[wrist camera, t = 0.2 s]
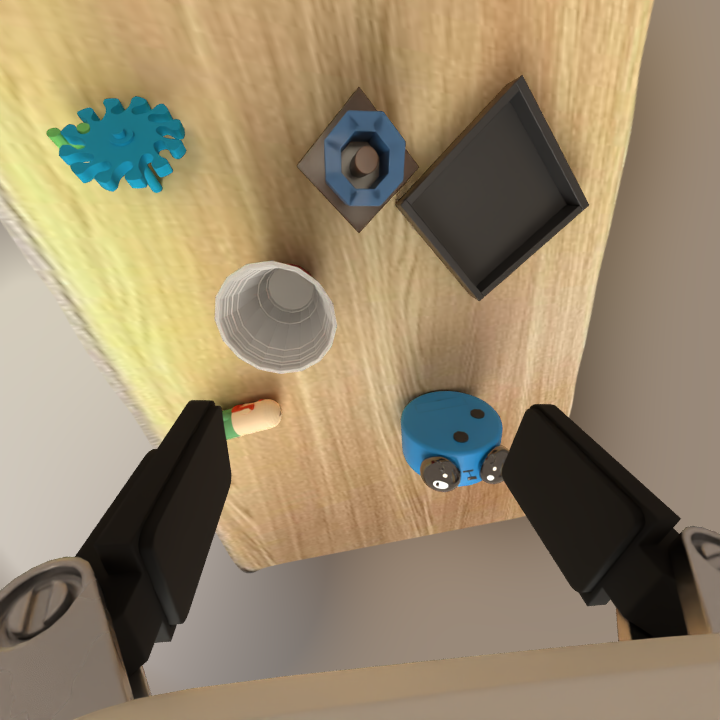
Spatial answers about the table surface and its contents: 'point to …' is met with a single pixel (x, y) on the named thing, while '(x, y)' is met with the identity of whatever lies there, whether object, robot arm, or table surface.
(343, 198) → the ring
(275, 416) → the toy figurine
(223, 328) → the plastic cup
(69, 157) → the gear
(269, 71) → the table surface
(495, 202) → the tray
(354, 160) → the dowel stand
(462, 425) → the alarm clock
